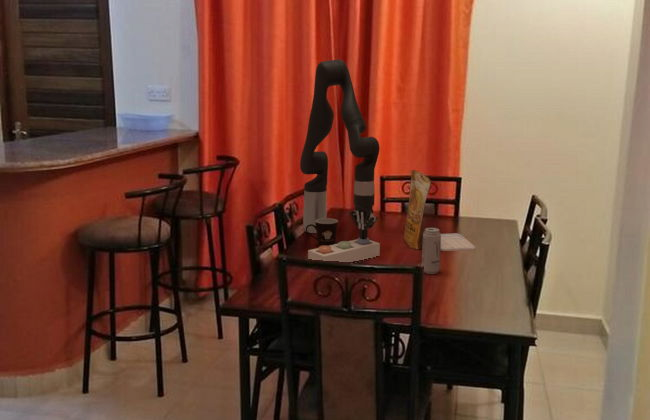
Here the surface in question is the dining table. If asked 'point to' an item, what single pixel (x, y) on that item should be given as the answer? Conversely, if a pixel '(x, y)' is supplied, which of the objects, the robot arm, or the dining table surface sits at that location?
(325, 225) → the coffee mug
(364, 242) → the button slate
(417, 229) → the pancake mix bag
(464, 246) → the calculator
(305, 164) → the robot arm
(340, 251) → the console
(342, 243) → the button sage
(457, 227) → the dining table surface
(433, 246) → the energy drink can
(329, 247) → the button terracotta
